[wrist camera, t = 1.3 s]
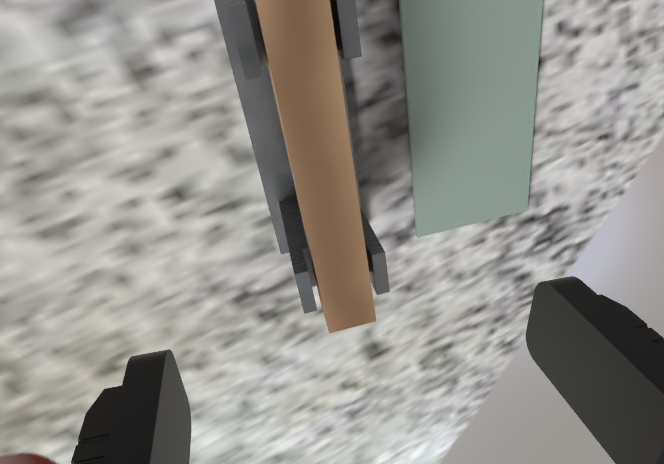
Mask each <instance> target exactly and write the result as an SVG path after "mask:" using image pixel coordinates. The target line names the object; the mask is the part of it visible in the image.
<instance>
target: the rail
mask: <svg viewBox="0 0 664 464" xmlns="http://www.w3.org/2000/svg"><path fill="white" fill-rule="evenodd" d="M253 1H254V6H255V10H256V15H257V19H258V24H259V28H260V33H261V37H262V42H263V46H264V51H265V55H266V60H267V64H268V69H269V73H270V77H271V82H272V86H273V91H274V95H275V100H276V104H277V109H278V113H279V118H280V122H281V127H282V131H283V136H284V140H285V145H286V149H287V154H288V158H289V162H290V167H291V171H292V176H293V180H294V185H295V189H296V194H297V198H298V203H299V207H300V212H301V216H302V221H303V225H304V230H305V234H306V239H307V243H308V247H309V252H310V256H311V261H312V265H313V270H314V274H315V279H316V283H317V288H318V292H319V297H320V301H321V305H322V309H323V312H324V316H325V319H326V323H327V327H328V330H329V333H332V332H336V331H340V330H344V329H347V328H351V327H355V326H359V325H363V324H367V323H370V322H374V321H376V316H375V309H374V302H373V295H372V288H371V281H370V274H369V268H368V261H367V254H366V247H365V240H364V233H363V226H362V219H361V212H360V205H359V199H358V192H357V185H356V178H355V171H354V164H353V157H352V150H351V143H350V136H349V130H348V123H347V116H346V109H345V102H344V95H343V88H342V81H341V74H340V67H339V61H338V54H337V47H336V40H335V33H334V26H333V19H332V12H331V5H330V0H253Z"/></svg>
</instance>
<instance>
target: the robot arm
mask: <svg viewBox="0 0 664 464" xmlns="http://www.w3.org/2000/svg"><path fill="white" fill-rule="evenodd" d="M526 342H527V347H528V350H529V352H530V354H531V356H532V358H533V360H534V361H535V362H536V363H537V365H538V366H539V367H540V369H541V370H542V371H543V372H544V374H545V375H546V376H547V378H548V379H549V380H550V381H551V383H552V384H553V385H554V386H555V388H556V389H557V390H558V391H559V393H560V394H561V395H562V396H563V398H564V399H565V400H566V402H567V403H568V404H569V405H570V406H571V408H572V409H573V410H574V412H575V413H576V414H577V415H578V416H579V418H580V419H581V420H582V422H583V423H584V424H585V425H586V427H587V428H588V429H589V431H590V432H591V433H592V434H593V436H594V437H595V438H596V439H597V441H598V442H599V443H600V444H601V446H602V447H603V448H604V450H605V451H606V452H607V453H608V455H609V456H610V457H611V458H612V460H613V461H614V462H615V463H616V464H664V339H663V337H662V336H660V335H659V334H658V333H657V332H656V331H654V330H653V329H652V328H648V327H647V324H646V323H645V322H644V321H643V320H641V319H640V318H639V317H638V316H637V315H635V314H634V313H633V312H632V311H631V310H629V309H628V308H627V307H625V306H623V305H621V304H619V303H617V302H615V301H613V300H611V299H609V298H607V297H605V296H603V295H597V294H596V293H595V292H594V291H592V290H591V289H590V288H589V287H588V286H587V285H586V284H584V283H583V282H582V281H581V280H580V279H578V278H576V277H565V278H560V279H554V280H549V281H544V282H540V283H538V284H537V286H536V288H535V291H534V296H533V301H532V306H531V311H530V315H529V320H528V325H527V330H526ZM190 442H191V413H190V407H189V402H188V398H187V395H186V392H185V389H184V386H183V383H182V380H181V376H180V373H179V370H178V367H177V364H176V361H175V358H174V355H173V353H172V351H171V350H164V351H158V352H153V353H148V354H142V355H137V356H132V357H130V359H129V361H128V364H127V368H126V372H125V376H124V380H123V384H122V386H118V387H112V388H107V389H104V390H103V391H102V393H101V394H100V396H99V397H98V398H97V400H96V401H95V402H94V404H93V405H92V406H91V408H90V409H89V410H88V412H87V413H86V415H85V418H84V422H83V425H82V428H81V431H80V435H79V438H78V445H77V446H76V448H75V451H74V454H73V458H72V461H71V464H189V457H190Z"/></svg>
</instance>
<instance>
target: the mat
mask: <svg viewBox="0 0 664 464" xmlns="http://www.w3.org/2000/svg"><path fill="white" fill-rule="evenodd" d="M542 7H543V0H399V10H400V24H401V37H402V51H403V64H404V78H405V91H406V105H407V118H408V132H409V145H410V159H411V172H412V186H413V199H414V213H415V226H416V236H417V237H421V236H425V235H430V234H434V233H438V232H442V231H446V230H450V229H454V228H458V227H462V226H466V225H470V224H474V223H478V222H482V221H486V220H490V219H494V218H498V217H502V216H506V215H510V214H514V213H518V212H522V211H527V209H528V196H529V182H530V169H531V155H532V142H533V128H534V115H535V101H536V88H537V74H538V61H539V47H540V34H541V20H542Z"/></svg>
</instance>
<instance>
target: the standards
mask: <svg viewBox="0 0 664 464" xmlns="http://www.w3.org/2000/svg"><path fill="white" fill-rule="evenodd" d="M214 2H215V5H216V9H217V13H218V17H219V21H220V24H221V28H222V32H223V36H224V40H225V43H226V47H227V51H228V55H229V58H230V62H231V66H232V70H233V74H234V77H235V81H236V85H237V89H238V93H239V96H240V100H241V104H242V108H243V112H244V115H245V119H246V123H247V127H248V131H249V134H250V138H251V142H252V146H253V149H254V153H255V157H256V161H257V165H258V168H259V172H260V176H261V180H262V184H263V187H264V191H265V195H266V199H267V203H268V206H269V210H270V214H271V218H272V222H273V225H274V229H275V233H276V237H277V241H278V244H279V248H280V252H281V254H285V253H289V252H290V256H291V261H292V265H293V270H294V274H295V278H296V282H297V286H298V290H299V294H300V298H301V302H302V306H303V310H304V314H305V313H309V312H313V311H317V307H316V303H315V299H314V294H313V290H312V287H313V286H317V283H316V279H315V274H314V270H313V265H312V261H311V256H310V252H309V247H308V243H307V239H306V234H305V230H304V225H303V221H302V216H301V212H300V207H299V203H298V198H297V194H296V189H295V185H294V180H293V176H292V171H291V167H290V162H289V158H288V154H287V149H286V145H285V140H284V136H283V131H282V127H281V122H280V118H279V113H278V109H277V104H276V100H275V95H274V91H273V86H272V82H271V77H270V73H269V69H268V64H267V60H266V55H265V51H264V46H263V42H262V37H261V33H260V28H259V24H258V19H257V15H256V10H255V6H254V1H253V0H214ZM330 5H331V12H332V19H333V26H334V33H335V40H336V47H337V54H338V61H339V67H340V74H341V81H342V88H343V95H344V102H345V109H346V116H347V123H348V130H349V136H350V143H351V150H352V157H353V164H354V171H355V178H356V185H357V192H358V199H359V205H360V212H361V219H362V226H363V233H364V240H365V247H366V254H367V261H368V268H369V274H370V280H371V283H372V285H373V287H374V289H375V291H376V293H377V295H379V294H383V293H387V292H390V291H389V282H388V274H387V265H386V257H385V251H384V249H383V248H382V246H381V244H380V242H379V240H378V239H377V237H376V235H375V233H374V231H373V230H372V228H371V226H370V224H369V222H368V221H367V219H366V217H365V215H364V213H363V210H362V203H361V196H360V189H359V182H358V175H357V168H356V161H355V154H354V146H353V139H352V132H351V125H350V118H349V111H348V104H347V97H346V90H345V83H344V76H343V69H342V62H341V57H342V58H343V59H344V60H346V59H350V58H355V57H360V56H362V55H361V47H360V39H359V30H358V22H357V13H356V5H355V0H330Z"/></svg>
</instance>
